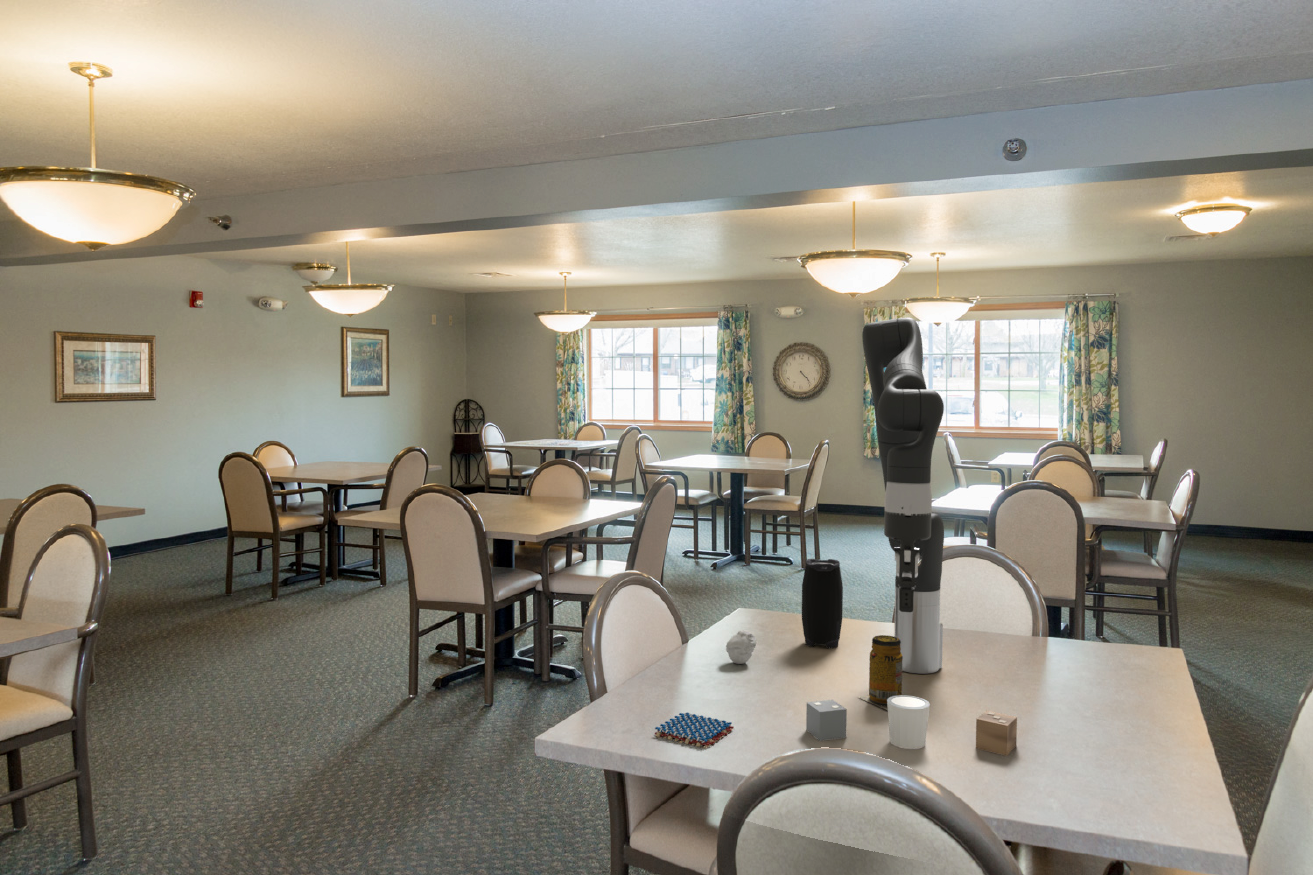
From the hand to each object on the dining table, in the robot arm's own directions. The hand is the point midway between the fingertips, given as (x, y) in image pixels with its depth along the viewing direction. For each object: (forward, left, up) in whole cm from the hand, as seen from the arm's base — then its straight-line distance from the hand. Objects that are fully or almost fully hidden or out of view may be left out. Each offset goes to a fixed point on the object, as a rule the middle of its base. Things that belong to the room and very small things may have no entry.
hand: (905, 606), depth 150 cm
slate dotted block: (+9, -9, -23) cm, 26 cm away
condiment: (-12, -15, -23) cm, 30 cm away
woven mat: (+28, -21, -24) cm, 42 cm away
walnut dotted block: (-11, +10, -23) cm, 27 cm away
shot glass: (0, +1, -23) cm, 23 cm away
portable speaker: (-28, -51, -23) cm, 63 cm away
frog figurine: (-3, -49, -23) cm, 54 cm away
